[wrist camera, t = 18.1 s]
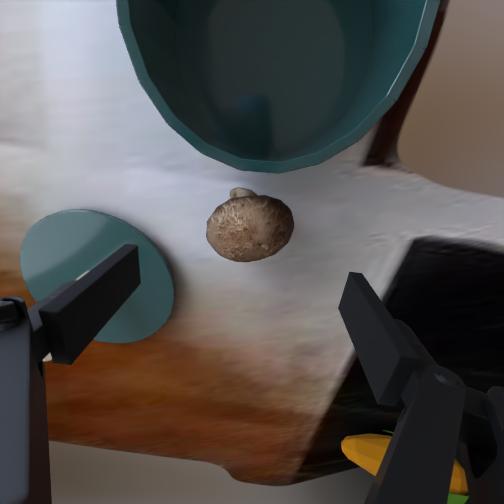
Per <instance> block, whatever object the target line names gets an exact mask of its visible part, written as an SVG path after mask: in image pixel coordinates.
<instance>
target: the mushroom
mask: <svg viewBox="0 0 504 504" xmlns="http://www.w3.org/2000/svg"><path fill="white" fill-rule="evenodd" d="M230 197H231V199H229V200H228V201H226V202H225V203H223V204H221V205H220V206H218V207H217V208H216V210H215V211H214V212H213V214H212V215H211V217H210V218H209V220H208V221H207V232H206V237H207V241H208V242H209V244H210V245H211V246H212V247H213V249H214V250H215V251H216V252H217V253H218V254H219V255H220V256H222V257H224V258H227V259H229V260H232V261H236V262H252V261H257V260H261V259H263V258H266V257H269V256H272V255H274V254H276V253H277V252H278V251H279V250H280V249H282V248H283V247H284V246H285V245H286V244H287V243H288V241H289V239H290V237H291V235H292V232H293V229H294V220H293V216H292V212H291V210H290V208H289V207H288V206H287V205H285V204H284V203H283V202H282V201H281V200H279V199H276V198H272V197H269V196H265V195H257V194H255V193H254V192H252V191H251V190H248V189H245V188H238V187H237V188H234V189H232V190H231V191H230Z"/></svg>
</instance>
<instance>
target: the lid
mask: <svg viewBox="0 0 504 504" xmlns="http://www.w3.org/2000/svg"><path fill="white" fill-rule="evenodd" d="M125 244H132V245H138V253H139V265H140V278H141V284H140V285H139V286H138V287H137V289H136V290H135V291H134V292H133V293H132V294H131V296H130V297H129V298H128V299H127V300H126V301H125V303H124V304H123V305H122V306H121V307H120V308H119V310H118V311H117V312H116V313H115V314H114V315H113V317H112V318H111V319H110V320H109V321H108V322H107V324H106V325H105V326H104V327H103V328H102V329H101V331H100V332H99V333H98V334H97V335H96V336H95V338H94V339H93V340H97V341H102V342H108V343H129V342H134V341H139V340H141V339H144V338H147V337H149V336H151V335H152V334H154V333H155V332H157V331H158V330H159V329H160V328H161V327H162V326H163V325H164V324H165V322H166V321H167V320H168V318H169V316H170V314H171V312H172V310H173V306H174V303H175V284H174V279H173V275H172V272H171V270H170V267H169V265H168V263H167V261H166V260H165V258H164V257H163V255H162V253H161V252H160V251H159V249H158V248H157V247H156V246H155V245H154V243H153V242H151V241H150V240H149V239H148V238H147V237H146V236H145V235H144V234H143V233H141V232H140V231H139V230H137V229H136V228H135V227H133V226H131V225H130V224H128V223H127V222H125V221H123V220H120V219H118V218H116V217H114V216H111V215H108V214H105V213H101V212H97V211H92V210H83V209H78V210H66V211H61V212H58V213H55V214H52V215H49V216H47V217H45V218H43V219H41V220H40V221H38V222H37V223H36V224H35V225H33V227H32V228H31V229H30V230H29V231H28V232H27V234H26V236H25V238H24V240H23V243H22V246H21V251H20V267H21V272H22V275H23V278H24V281H25V284H26V286H27V288H28V290H29V291H30V293H31V295H32V296H33V298H34V299H35V300H36V302H39V301H40V300H41V299H43V298H44V297H47V295H48V294H50V293H51V292H53V291H54V290H55V289H57V288H58V287H59V286H61V285H62V284H65V283H67V282H69V281H72V280H78V279H80V278H81V277H82V276H84V275H85V274H86V273H88V272H89V271H90V270H92V269H93V268H94V267H96V266H97V265H98V264H100V263H101V262H102V261H103V260H105V259H106V258H107V257H109V256H110V255H111V254H113V253H114V252H115V251H117V250H118V249H119V248H121V247H122V246H123V245H125ZM49 360H52V357H51V354H50V353H49V354H48V355H47V356H46V357H45V358H44V359H43V362H44V361H49Z"/></svg>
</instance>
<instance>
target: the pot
mask: <svg viewBox="0 0 504 504" xmlns="http://www.w3.org/2000/svg"><path fill="white" fill-rule="evenodd" d="M440 1H441V0H116V6H117V15H118V24H119V28H120V30H121V33H122V36H123V39H124V42H125V44H126V47H127V50H128V53H129V56H130V58H131V61H132V64H133V67H134V70H135V72H136V75H137V78H138V80H139V83H140V84H141V86H142V87H143V89H144V90H145V92H146V93H147V95H148V96H149V98H150V99H151V101H152V102H153V104H154V105H155V107H156V108H157V110H158V111H159V113H160V114H161V116H162V117H163V119H164V120H165V122H166V123H167V124H168V125H169V126H170V127H171V128H172V129H173V130H175V131H176V132H177V133H178V134H179V135H180V136H181V137H183V138H184V139H185V140H186V141H187V142H188V143H190V144H191V145H192V146H193V147H194V148H195V149H197V150H198V151H199V152H200V153H202V154H203V155H206V156H208V157H210V158H213V159H215V160H217V161H220V162H222V163H224V164H226V165H229V166H231V167H233V168H236V169H238V170H239V169H240V170H243V171H255V172H266V173H278V174H279V173H284V172H288V171H293V170H297V169H301V168H305V167H309V166H313V165H318V164H320V163H322V162H324V161H326V160H328V159H329V158H331V157H333V156H334V155H336V154H338V153H339V152H341V151H343V150H344V149H346V148H348V147H349V146H351V145H353V144H354V143H356V142H358V141H359V140H360V139H361V138H362V137H363V136H364V135H365V134H366V133H367V132H368V131H369V130H370V129H371V128H372V127H373V126H374V125H375V124H376V123H377V122H378V121H379V120H380V119H381V117H382V116H383V115H384V114H385V113H386V112H387V111H388V110H389V109H390V108H391V107H392V106H393V105H394V104H395V102H396V101H397V100H398V98H399V96H400V94H401V93H402V91H403V89H404V87H405V86H406V84H407V82H408V80H409V79H410V77H411V75H412V73H413V72H414V70H415V68H416V66H417V65H418V63H419V61H420V59H421V57H422V56H423V54H424V52H425V49H426V48H427V45H428V42H429V38H430V35H431V32H432V28H433V25H434V21H435V18H436V14H437V11H438V8H439V4H440Z"/></svg>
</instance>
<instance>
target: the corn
mask: <svg viewBox="0 0 504 504" xmlns="http://www.w3.org/2000/svg"><path fill="white" fill-rule="evenodd" d="M382 431H384V432H389V433H392V434H393V433H394V432H391V431H386V430H382ZM391 438H392V436H387V435H379V434H362V435H354V436H347V437H346V438H345V439H344V440H343V441H342V442H341V445H342V451H343V452H344V454H345V455H346V456H347V458H348V459H350V460H351V461H353V462H355V463H356V464H358V465H359V466H361V467H362V468H364V469H365V470H367V471H368V472H370V473H371V474H373V475H374V476H376V474H377V471H378V469H379V467H380V464H381V462H382V459H383V457H384V455H385V452H386V450H387V447H388V445H389V443H390V440H391ZM468 498H469V493H468V488H467V482H466V477H465V471H464V469H463V468H462V465H461V464H460V463H459V462H458V461H457V460H456V459H455V461H454V466H453V472H452V478H451V484H450V490H449V496H448V502H447V504H465V502H466V501H467V499H468Z"/></svg>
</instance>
